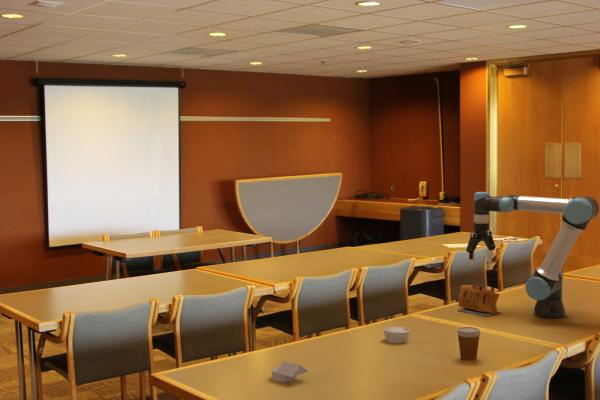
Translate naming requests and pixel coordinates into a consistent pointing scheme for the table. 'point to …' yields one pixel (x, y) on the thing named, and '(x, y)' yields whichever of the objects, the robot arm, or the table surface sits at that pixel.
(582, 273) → the table surface
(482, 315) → the mat
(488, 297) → the coffee package
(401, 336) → the ramekin
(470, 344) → the disposable coffee cup
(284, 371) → the grey angular block
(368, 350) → the table surface
